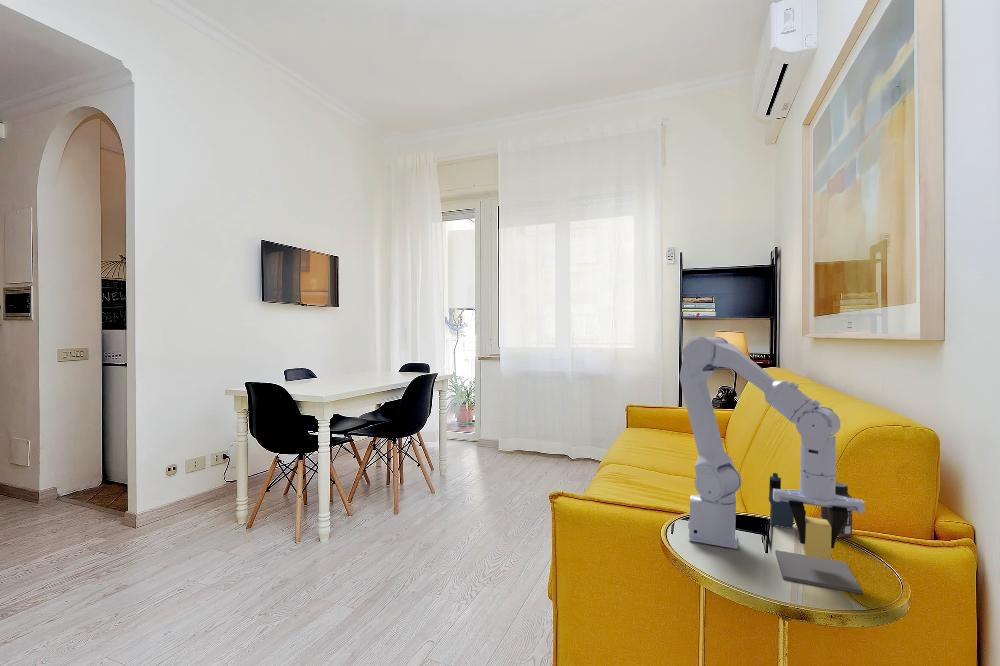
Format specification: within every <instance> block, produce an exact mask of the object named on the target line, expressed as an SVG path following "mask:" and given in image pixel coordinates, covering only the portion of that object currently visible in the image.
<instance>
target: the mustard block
mask: <svg viewBox="0 0 1000 666" xmlns="http://www.w3.org/2000/svg"><path fill="white" fill-rule="evenodd" d="M831 528H832V527H831V525H830V524H829V522H828V521H827V520H825V519H821V518H817V517H810V516H805V544H802V543H801V548H802V551H803V554H804V555H806V556H812V557H818V558H824V559H829V560H832V548H831Z"/></svg>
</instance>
